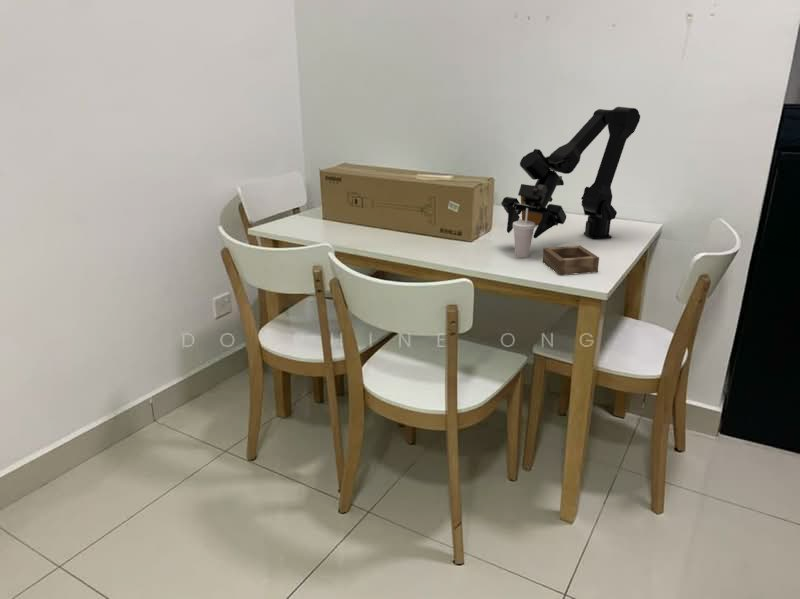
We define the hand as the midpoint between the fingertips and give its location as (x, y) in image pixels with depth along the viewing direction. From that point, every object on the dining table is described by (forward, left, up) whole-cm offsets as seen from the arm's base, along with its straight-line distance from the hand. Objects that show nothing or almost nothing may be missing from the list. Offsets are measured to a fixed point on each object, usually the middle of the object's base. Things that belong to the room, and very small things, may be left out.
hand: (520, 234), depth 173 cm
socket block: (-10, +11, -7) cm, 16 cm away
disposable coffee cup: (-17, -34, -7) cm, 39 cm away
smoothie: (-1, -1, -7) cm, 7 cm away
